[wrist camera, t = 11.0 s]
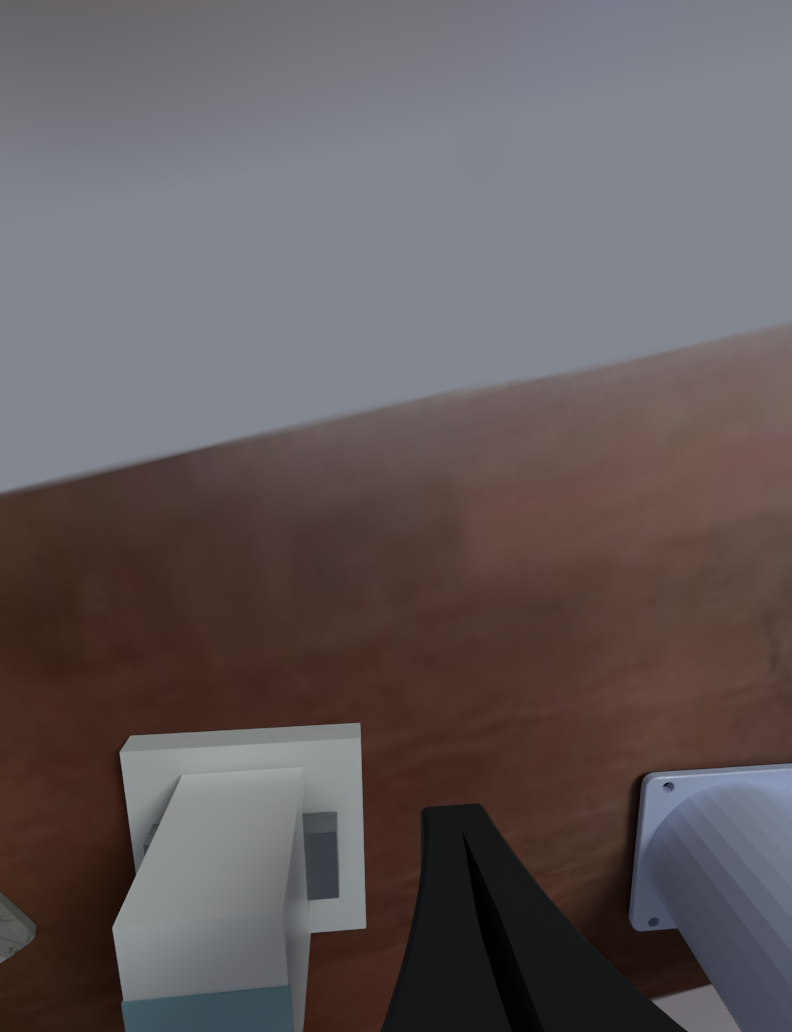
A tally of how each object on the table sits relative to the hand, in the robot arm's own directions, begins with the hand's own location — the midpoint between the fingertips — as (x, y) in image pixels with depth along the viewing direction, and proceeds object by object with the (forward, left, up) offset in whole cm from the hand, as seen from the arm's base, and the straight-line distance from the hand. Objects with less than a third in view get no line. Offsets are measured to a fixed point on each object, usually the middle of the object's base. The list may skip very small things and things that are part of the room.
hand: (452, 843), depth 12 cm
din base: (+7, +8, -9) cm, 14 cm away
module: (+7, +7, -8) cm, 13 cm away
